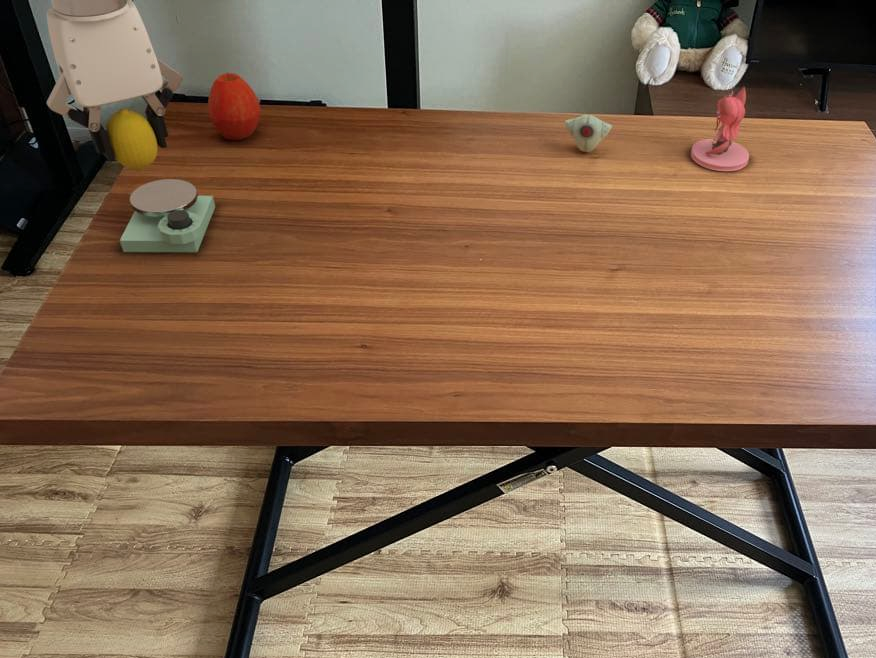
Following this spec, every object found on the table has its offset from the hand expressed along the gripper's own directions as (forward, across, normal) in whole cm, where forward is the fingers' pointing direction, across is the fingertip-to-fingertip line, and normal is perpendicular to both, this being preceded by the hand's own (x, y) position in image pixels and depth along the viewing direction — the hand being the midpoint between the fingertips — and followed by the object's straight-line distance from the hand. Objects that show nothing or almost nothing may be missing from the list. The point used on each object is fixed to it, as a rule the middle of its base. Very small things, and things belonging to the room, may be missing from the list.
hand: (134, 148), depth 106 cm
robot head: (+18, -69, +6) cm, 71 cm away
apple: (+18, -23, -31) cm, 42 cm away
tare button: (+15, -4, -4) cm, 16 cm away
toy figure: (+18, -87, +19) cm, 91 cm away
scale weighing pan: (+14, -4, -11) cm, 19 cm away
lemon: (+3, 0, 0) cm, 3 cm away
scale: (+18, -4, -9) cm, 20 cm away
